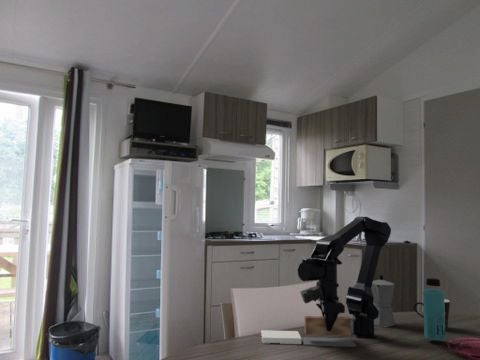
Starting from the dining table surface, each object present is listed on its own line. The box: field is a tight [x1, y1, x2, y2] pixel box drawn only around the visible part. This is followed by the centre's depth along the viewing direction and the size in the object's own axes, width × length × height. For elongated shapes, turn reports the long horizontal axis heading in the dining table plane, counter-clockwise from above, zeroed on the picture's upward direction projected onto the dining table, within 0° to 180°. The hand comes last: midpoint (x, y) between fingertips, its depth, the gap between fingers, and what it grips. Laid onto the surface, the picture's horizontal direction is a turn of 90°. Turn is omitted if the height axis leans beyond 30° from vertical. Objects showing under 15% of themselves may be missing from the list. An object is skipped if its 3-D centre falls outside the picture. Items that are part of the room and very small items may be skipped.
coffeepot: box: [371, 274, 396, 327], centre depth 150 cm, size 15×9×18 cm, turn 151°
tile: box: [260, 329, 302, 345], centre depth 127 cm, size 12×2×8 cm
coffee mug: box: [413, 298, 451, 331], centre depth 146 cm, size 12×9×10 cm
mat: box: [301, 336, 357, 348], centre depth 125 cm, size 16×7×1 cm, turn 90°
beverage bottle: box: [422, 277, 447, 341], centre depth 129 cm, size 6×7×20 cm
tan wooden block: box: [304, 315, 352, 336], centre depth 125 cm, size 14×3×5 cm, turn 90°
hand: (327, 329), depth 125 cm, fingers closed on tan wooden block, 3 cm apart
